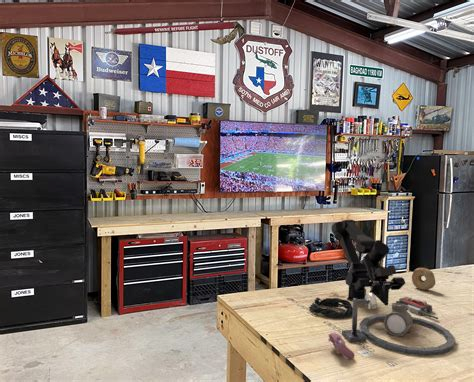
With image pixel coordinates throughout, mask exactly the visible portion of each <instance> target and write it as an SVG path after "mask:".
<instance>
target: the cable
mask: <svg viewBox="0 0 474 382" xmlns="http://www.w3.org/2000/svg"><path fill="white" fill-rule="evenodd" d="M324 307H325V308H324ZM342 307H343V308H344V309H345V311H337V310H335V309H332V308H342ZM308 308H309V311H310V312H311V313H315V314H317V315H319V314H320V315H323V317H324V316H325V317H327V318H347V317H348V318H349V317H351V316H352V314H353V304H352V303H351V302H350V300H348V299H342V298H338V297H332V298H331V297H329V298H328V297H327V298H324V299H321V298H319V297H316V298H315V299H314V301H313V302H312V303H311V304H310V306H308Z"/></svg>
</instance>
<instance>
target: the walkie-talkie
mask: <svg viewBox="0 0 474 382" xmlns="http://www.w3.org/2000/svg"><path fill="white" fill-rule="evenodd" d="M395 303H403V304H406V305H407V308H406V309H407V311H408V312H409V313H413V314H416V315H423V316H425V317H427V318H432V319H435V320H439V317H438V316H435V315H432V314H430V313H431V312H433V306H432V304H428V303H427V301H426V300H423V299H421V298H413V297H412V296H410V297H408V296H404V297H400V298H399V300H396V301H395Z"/></svg>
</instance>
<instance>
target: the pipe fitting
mask: <svg viewBox="0 0 474 382" xmlns="http://www.w3.org/2000/svg"><path fill="white" fill-rule="evenodd" d="M390 306H391V312H389V313H386V314H387V315H386V317H385V319H384V320H383V325H384V328H385V330H386V331H387V333H388V334H389V335H392V336H394V337H403V336H404V335H406V334H407V333H408V331H409V329H410V326H412V324H413V323H412V322H413V319H412V317H413V316H412V314H411V312H409V311H408V309H407V305H406V304H403V303H396V302H393V303H391V305H390Z"/></svg>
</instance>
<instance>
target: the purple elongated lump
mask: <svg viewBox="0 0 474 382" xmlns="http://www.w3.org/2000/svg"><path fill="white" fill-rule="evenodd" d="M328 342H330V343H332V345H333V347H334V348H335V350H336V353H337V354H338V355H339V356H340V357H341V356H343V357H345V358H346V359H349V360H353V359H354V358H355V353H354V352H353V351H352V350H351V349H350V348H349V347H347V345H346V343H345V341H344V339H343V336H341V335H340V334H339V333H336V331H334V332H331V333H329V334H328Z"/></svg>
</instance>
